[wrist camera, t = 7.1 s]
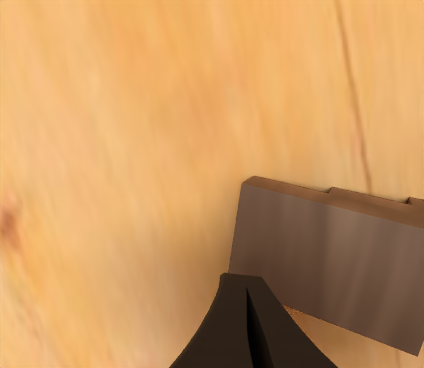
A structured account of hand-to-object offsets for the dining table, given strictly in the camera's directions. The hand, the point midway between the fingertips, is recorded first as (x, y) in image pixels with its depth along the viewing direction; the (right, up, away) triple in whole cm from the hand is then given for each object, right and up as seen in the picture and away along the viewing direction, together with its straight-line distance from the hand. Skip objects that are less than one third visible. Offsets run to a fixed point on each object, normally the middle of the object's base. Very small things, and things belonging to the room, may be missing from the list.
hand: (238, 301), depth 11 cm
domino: (0, +2, +5) cm, 5 cm away
